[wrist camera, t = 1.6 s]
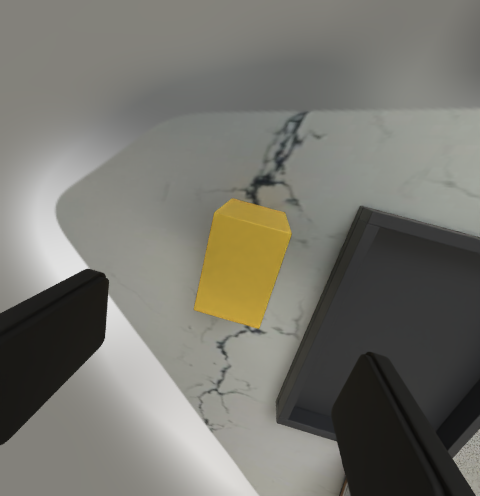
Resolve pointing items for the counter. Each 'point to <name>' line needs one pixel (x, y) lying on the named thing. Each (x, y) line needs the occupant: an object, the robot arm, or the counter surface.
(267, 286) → the sponge
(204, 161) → the counter surface
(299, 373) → the tray
